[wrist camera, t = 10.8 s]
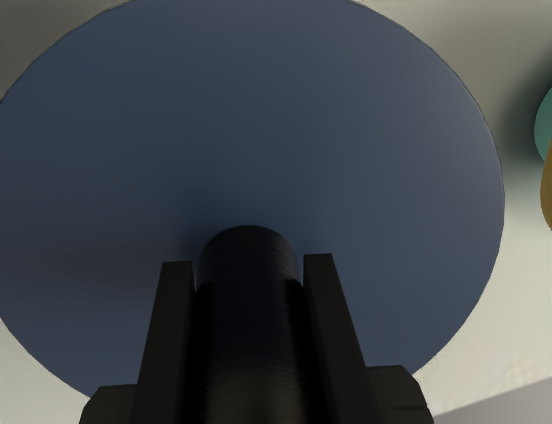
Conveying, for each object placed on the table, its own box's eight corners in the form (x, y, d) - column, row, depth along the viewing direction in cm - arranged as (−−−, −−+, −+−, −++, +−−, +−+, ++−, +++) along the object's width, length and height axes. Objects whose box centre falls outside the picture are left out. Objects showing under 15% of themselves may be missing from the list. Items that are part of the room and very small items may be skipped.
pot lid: (55, 420, 19) (-66, 760, 11) (-104, -19, 12) (-852, 100, 4) (444, 392, 20) (579, 687, 12) (544, -30, 12) (1092, 43, 5)
